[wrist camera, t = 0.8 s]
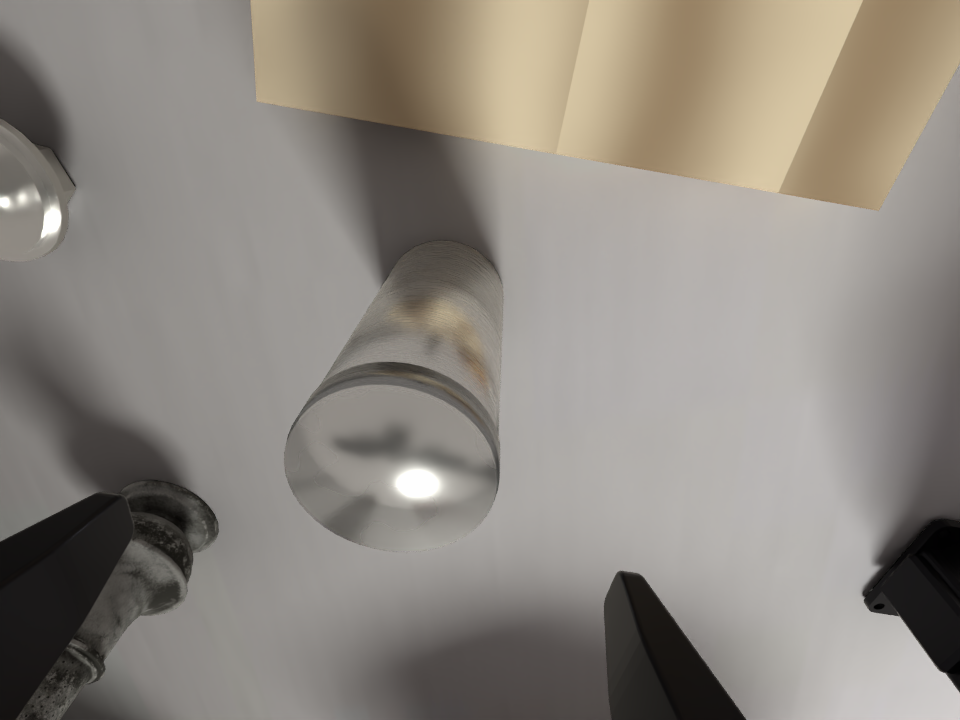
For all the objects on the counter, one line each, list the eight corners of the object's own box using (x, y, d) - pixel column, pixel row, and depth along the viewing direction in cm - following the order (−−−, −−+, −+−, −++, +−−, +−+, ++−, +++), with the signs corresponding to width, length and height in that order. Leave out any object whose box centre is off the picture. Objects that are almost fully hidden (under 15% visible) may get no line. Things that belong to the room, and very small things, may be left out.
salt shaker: (88, 481, 25) (-209, 764, 15) (194, 470, 24) (-43, 762, 14) (145, 558, 28) (-71, 843, 18) (241, 551, 27) (74, 844, 17)
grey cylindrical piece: (515, 250, 18) (518, 409, 9) (494, 358, 20) (480, 566, 12) (390, 229, 18) (276, 370, 9) (382, 340, 20) (285, 537, 12)
